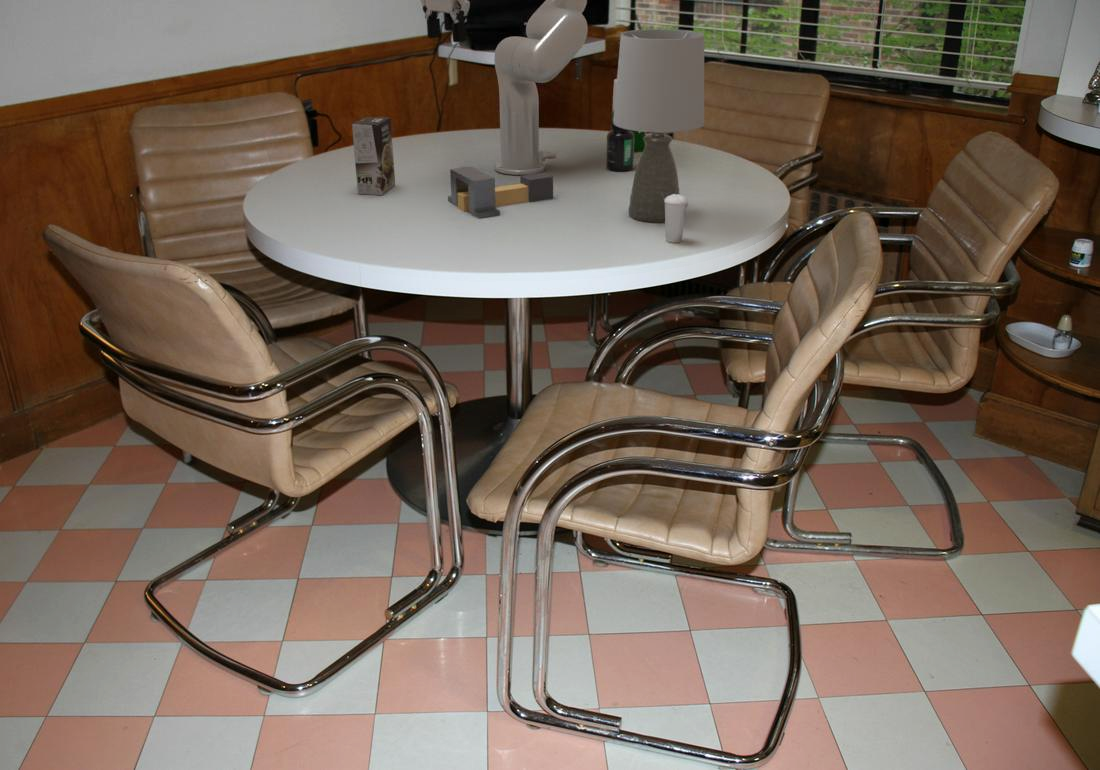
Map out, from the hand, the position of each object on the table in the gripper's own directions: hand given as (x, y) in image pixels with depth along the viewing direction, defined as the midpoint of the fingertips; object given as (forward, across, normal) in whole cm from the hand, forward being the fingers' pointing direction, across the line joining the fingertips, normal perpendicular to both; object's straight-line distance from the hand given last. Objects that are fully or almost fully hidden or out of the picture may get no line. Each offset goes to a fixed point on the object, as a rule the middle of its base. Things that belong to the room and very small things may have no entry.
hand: (446, 39), depth 222 cm
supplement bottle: (+33, -16, -40) cm, 54 cm away
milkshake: (+33, -64, -7) cm, 73 cm away
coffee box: (+33, +7, +17) cm, 38 cm away
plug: (+33, -21, +1) cm, 39 cm away
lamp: (+33, -50, -17) cm, 62 cm away
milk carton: (+34, -2, -57) cm, 66 cm away
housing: (+33, -20, +9) cm, 39 cm away
